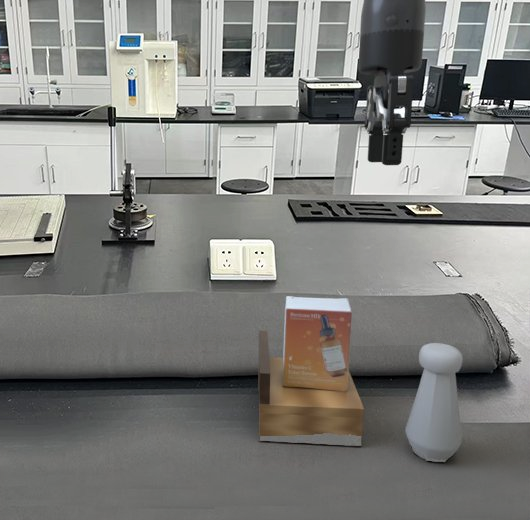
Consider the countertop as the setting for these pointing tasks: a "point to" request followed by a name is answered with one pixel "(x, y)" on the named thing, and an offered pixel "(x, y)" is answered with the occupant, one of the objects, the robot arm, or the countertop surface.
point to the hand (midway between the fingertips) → (383, 163)
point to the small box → (317, 343)
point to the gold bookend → (303, 403)
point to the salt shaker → (436, 404)
